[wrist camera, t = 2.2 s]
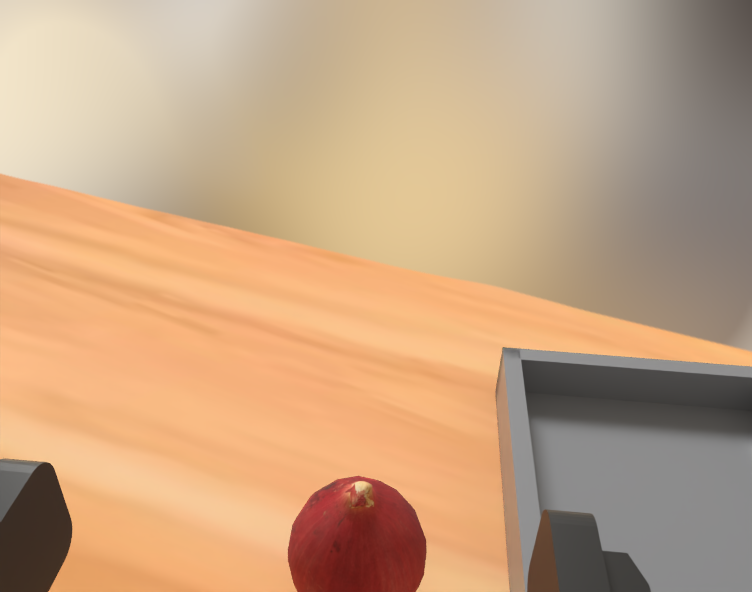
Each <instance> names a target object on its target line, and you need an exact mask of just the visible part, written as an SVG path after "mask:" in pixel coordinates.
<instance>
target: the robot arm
mask: <svg viewBox="0 0 752 592" xmlns="http://www.w3.org/2000/svg"><path fill="white" fill-rule="evenodd" d="M71 538H72V521H71V518H70V515H69V512H68V509H67V506H66V503H65V500H64V497H63V494H62V491H61V488H60V485H59V482H58V479H57V476H56V473H55V470H54V468H53V466H52V465H51V464H50V463H47V462H37V461H26V460H15V459H1V460H0V592H48V591H49V589H50V587H51V585H52V583H53V582H54V580H55V578H56V576H57V574H58V572H59V570H60V568H61V566H62V564H63V562H64V560H65V558H66V556H67V553H68V551H69V547H70V543H71ZM527 592H651V590H650V586H649V584H648V582H647V581H646V579H645V578H644V577H643V575H642V574H641V572H640V571H639V569H638V568H637V566H636V565H635V563H634V562H633V560H632V559H631V557H630V556H629V554H628V553H622V552H611V551H602V547H601V542H600V537H599V532H598V527H597V523H596V520H595V517H594V516H593V514H591V513H581V512H570V511H559V510H548V509H545V510H544V511H543V513H542V516H541V520H540V524H539V528H538V532H537V536H536V540H535V545H534V549H533V553H532V557H531V561H530V565H529V571H528V582H527Z"/></svg>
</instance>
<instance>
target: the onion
mask: <svg viewBox="0 0 752 592" xmlns="http://www.w3.org/2000/svg"><path fill="white" fill-rule="evenodd" d="M425 560H426V539H425V536H424V533H423V531H422V528H421V525H420V523H419V520H418V517H417V515H416V512H415V510H414V509H413V507H412V506H411V505H410V504H409V503H408V502H407V501H406V500H405V499H404V498H403V496H402V495H401V494H400V493H399V492H398V491H397V490H396V489H394V488H392V487H390V486H388V485H386V484H384V483H383V482H381V481H378V480H374V479H370V478H365V477H361V476H355V477H349V478H343V479H338V480H336V481H334V482H332V483H330V484H329V485H327V486H325V487H324V488H322V489H320V490H318V491H317V492H315V493H314V494H313V495H312V496H311V497H310V498H309V500H308V501H307V503H306V504H305V506H304V507H303V509H302V510H301V512H300V513H299V515H298V516H297V518H296V520H295V521H294V523H293V525H292V531H291V536H290V541H289V547H288V562H289V566H290V570H291V575H292V579H293V583H294V585H295V587H296V589H297V592H416V590H417V589H418V587H419V585H420V582H421V580H422V578H423V575H424V568H425Z"/></svg>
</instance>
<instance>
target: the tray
mask: <svg viewBox="0 0 752 592" xmlns="http://www.w3.org/2000/svg"><path fill="white" fill-rule="evenodd" d="M496 405H497V419H498V433H499V447H500V461H501V475H502V488H503V502H504V516H505V530H506V544H507V558H508V572H509V585H510V592H527V582H528V571H529V565H530V561H531V557H532V553H533V549H534V545H535V540H536V536H537V532H538V528H539V524H540V520H541V516H542V513H543V511H544V510H545V509H548V510H559V511H570V512H581V513H591V514H593V516H594V517H595V520H596V523H597V527H598V532H599V537H600V542H601V547H602V551H611V552H622V553H628V554H629V556H630V557H631V559H632V560H633V562H634V563H635V565H636V566H637V568H638V569H639V571H640V572H641V574H642V575H643V577H644V578H645V579H646V581H647V582H648V584H649V586H650V590H651V592H752V367H749V366H736V365H723V364H710V363H697V362H684V361H671V360H658V359H645V358H633V357H620V356H607V355H594V354H581V353H568V352H555V351H542V350H529V349H517V348H504V347H503V349H502V355H501V361H500V367H499V373H498V379H497V386H496Z"/></svg>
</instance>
